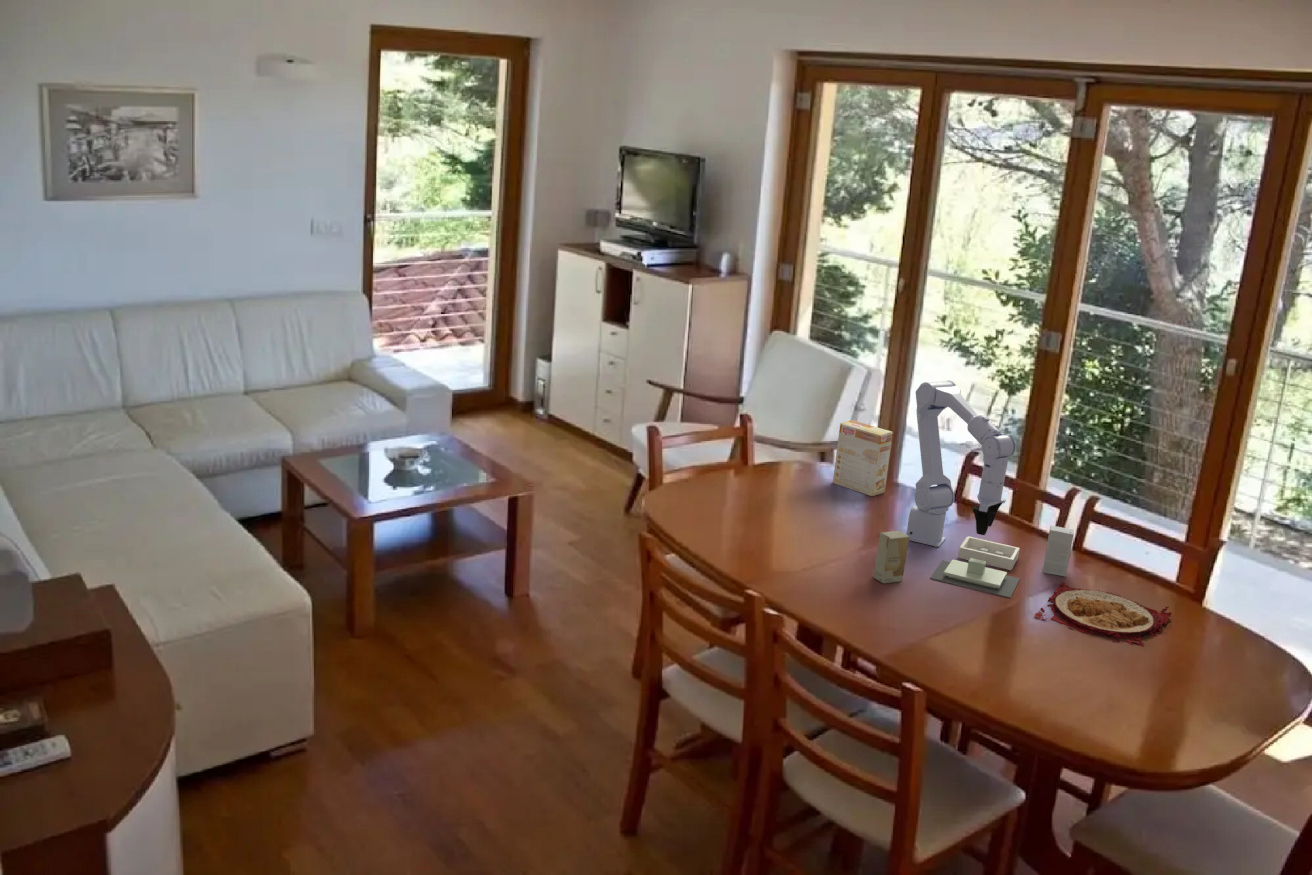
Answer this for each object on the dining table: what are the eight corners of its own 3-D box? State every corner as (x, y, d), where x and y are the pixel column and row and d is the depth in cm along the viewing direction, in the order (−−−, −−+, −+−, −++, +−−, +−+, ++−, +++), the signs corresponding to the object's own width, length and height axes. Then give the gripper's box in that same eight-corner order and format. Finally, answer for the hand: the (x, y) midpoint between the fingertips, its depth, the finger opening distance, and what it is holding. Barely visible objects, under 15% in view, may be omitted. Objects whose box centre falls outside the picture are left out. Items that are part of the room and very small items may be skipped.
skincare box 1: (883, 584, 300) (889, 538, 297) (872, 577, 304) (879, 532, 300) (903, 581, 303) (910, 535, 300) (892, 574, 307) (899, 529, 303)
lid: (942, 577, 307) (945, 560, 305) (951, 565, 315) (954, 548, 314) (998, 591, 301) (1001, 574, 300) (1006, 578, 310) (1008, 561, 309)
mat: (930, 578, 306) (930, 577, 306) (942, 561, 318) (942, 560, 318) (1010, 598, 298) (1010, 597, 298) (1019, 579, 310) (1019, 578, 310)
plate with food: (1061, 589, 309) (1063, 576, 308) (1170, 618, 295) (1173, 605, 294) (1032, 622, 289) (1034, 608, 288) (1148, 654, 275) (1150, 640, 274)
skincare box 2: (1066, 571, 318) (1074, 529, 315) (1065, 577, 315) (1074, 534, 311) (1042, 566, 320) (1050, 524, 317) (1041, 572, 316) (1049, 529, 313)
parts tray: (957, 557, 322) (959, 547, 321) (965, 546, 330) (967, 536, 329) (1011, 570, 316) (1013, 559, 315) (1017, 558, 325) (1019, 547, 324)
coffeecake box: (885, 492, 369) (894, 431, 363) (872, 497, 364) (880, 435, 358) (845, 479, 378) (853, 419, 373) (831, 483, 373) (839, 422, 368)
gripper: (1002, 491, 302) (993, 541, 306) (1013, 476, 315) (1004, 525, 319) (974, 485, 305) (966, 535, 309) (986, 470, 317) (978, 518, 321)
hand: (983, 529), depth 314 cm, fingers open, 7 cm apart
